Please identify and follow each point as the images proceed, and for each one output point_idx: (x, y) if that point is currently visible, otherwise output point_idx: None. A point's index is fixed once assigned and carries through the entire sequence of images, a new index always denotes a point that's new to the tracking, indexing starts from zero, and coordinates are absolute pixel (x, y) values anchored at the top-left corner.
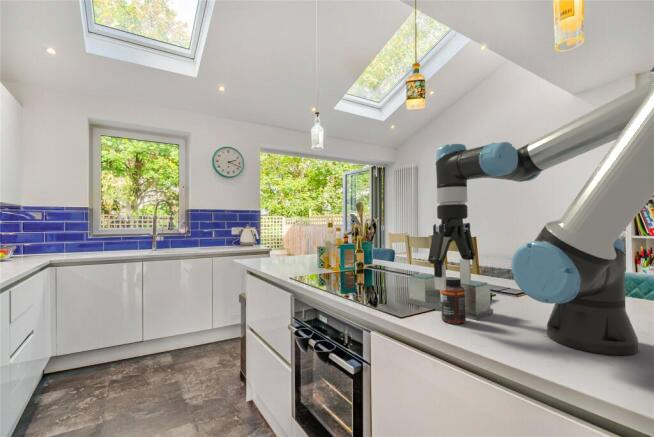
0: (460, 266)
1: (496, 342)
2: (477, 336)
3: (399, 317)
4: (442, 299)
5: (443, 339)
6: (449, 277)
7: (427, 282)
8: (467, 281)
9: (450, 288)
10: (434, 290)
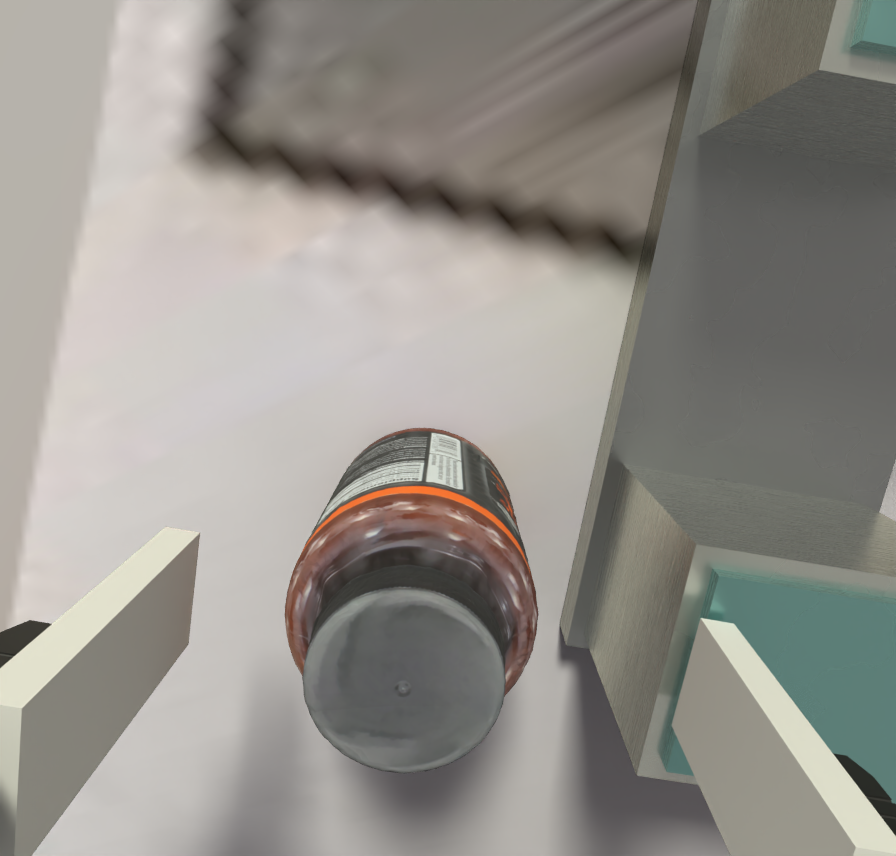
0: (788, 763)
1: (203, 822)
2: (223, 724)
3: (210, 130)
4: (326, 509)
5: (18, 599)
6: (444, 634)
7: (850, 95)
8: (684, 723)
9: (298, 650)
10: None
